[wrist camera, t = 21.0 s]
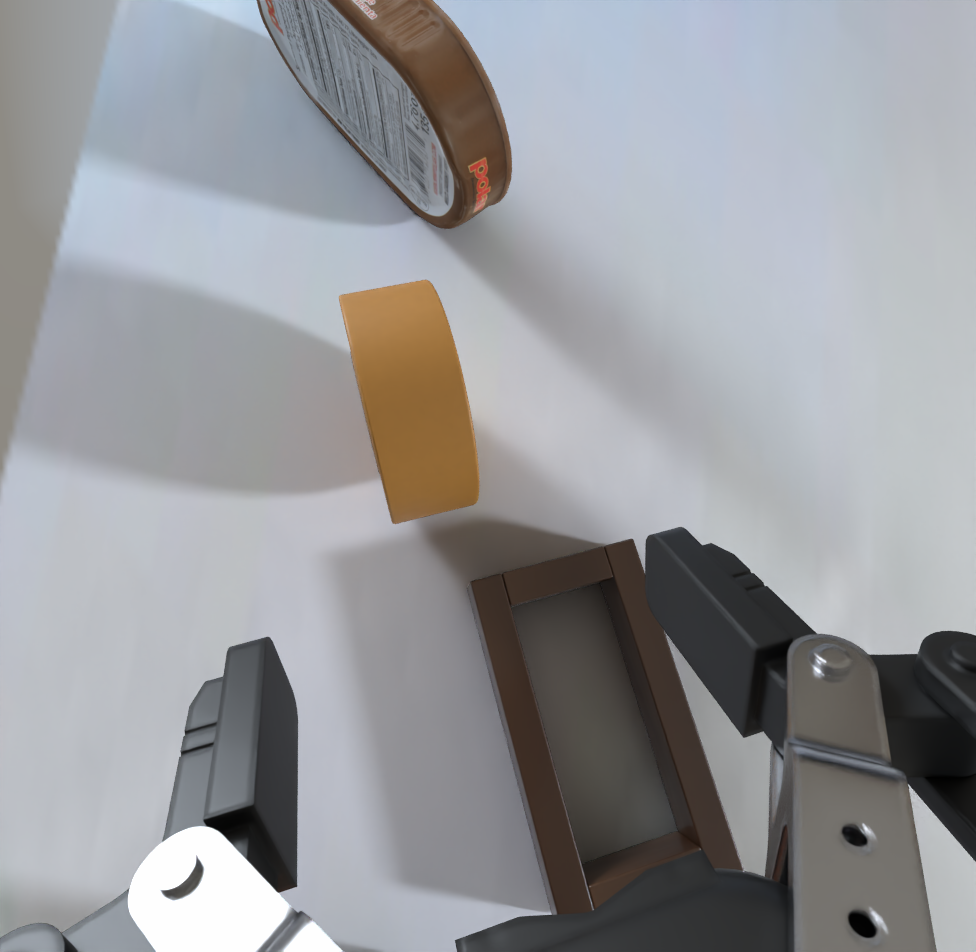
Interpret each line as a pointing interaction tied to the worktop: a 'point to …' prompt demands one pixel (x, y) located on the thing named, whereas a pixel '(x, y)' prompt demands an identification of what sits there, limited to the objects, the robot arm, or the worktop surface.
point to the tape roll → (413, 399)
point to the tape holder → (661, 713)
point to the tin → (401, 97)
